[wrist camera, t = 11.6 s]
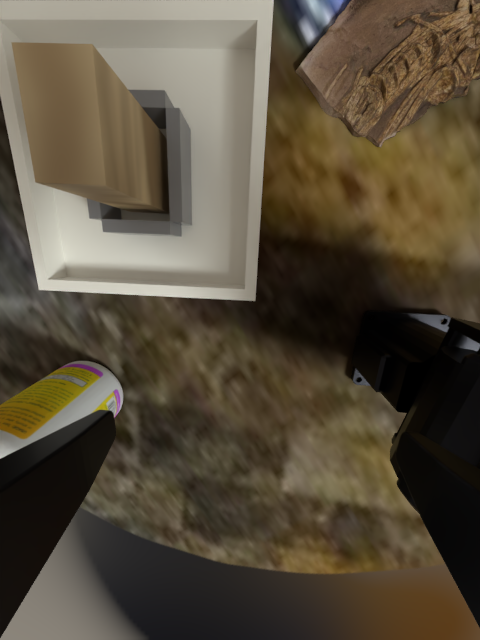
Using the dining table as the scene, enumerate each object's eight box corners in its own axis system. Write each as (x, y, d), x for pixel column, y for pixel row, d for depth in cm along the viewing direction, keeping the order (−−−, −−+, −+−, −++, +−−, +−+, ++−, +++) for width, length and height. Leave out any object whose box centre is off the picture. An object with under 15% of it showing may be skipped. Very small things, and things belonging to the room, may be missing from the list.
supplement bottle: (44, 375, 23) (-204, 523, 10) (98, 346, 21) (-110, 475, 9) (87, 428, 24) (-85, 612, 12) (140, 404, 23) (9, 581, 11)
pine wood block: (169, 141, 16) (92, 43, 8) (171, 214, 17) (106, 185, 10) (125, 140, 16) (11, 41, 9) (130, 211, 18) (35, 182, 10)
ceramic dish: (270, 40, 15) (274, -13, 12) (255, 294, 19) (255, 302, 16) (23, 39, 15) (-32, -12, 12) (64, 285, 20) (31, 291, 17)
